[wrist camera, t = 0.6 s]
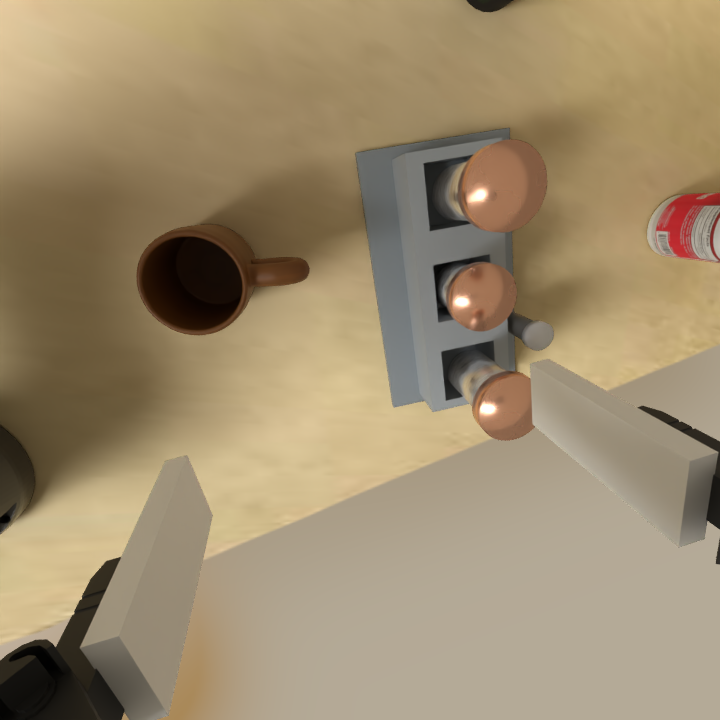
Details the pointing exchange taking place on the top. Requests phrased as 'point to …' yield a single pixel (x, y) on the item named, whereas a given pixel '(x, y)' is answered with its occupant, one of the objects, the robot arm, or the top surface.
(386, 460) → the top surface
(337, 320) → the top surface
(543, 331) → the pot post
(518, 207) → the knob
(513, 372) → the knob
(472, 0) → the cup
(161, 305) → the mug
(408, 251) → the mount
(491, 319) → the knob mid
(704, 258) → the pill bottle
